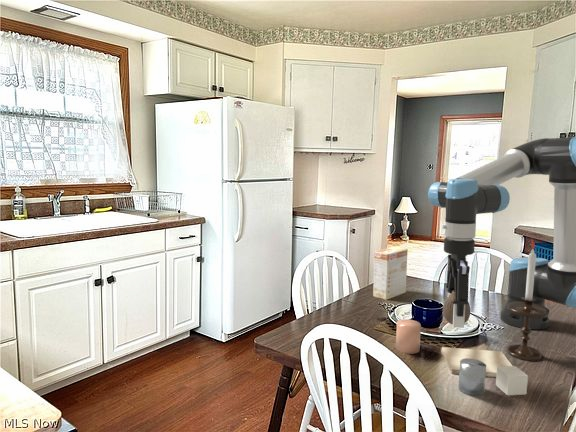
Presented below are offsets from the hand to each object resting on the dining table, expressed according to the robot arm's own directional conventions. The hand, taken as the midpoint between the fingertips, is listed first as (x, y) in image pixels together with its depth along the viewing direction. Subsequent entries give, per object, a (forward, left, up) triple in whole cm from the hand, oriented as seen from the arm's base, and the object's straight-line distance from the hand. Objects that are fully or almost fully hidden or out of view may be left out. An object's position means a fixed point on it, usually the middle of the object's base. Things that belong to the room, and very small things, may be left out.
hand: (455, 321), depth 117 cm
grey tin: (-3, +10, -14) cm, 17 cm away
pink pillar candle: (+10, -12, -14) cm, 21 cm away
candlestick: (-24, -14, -14) cm, 31 cm away
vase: (0, 0, -1) cm, 1 cm away
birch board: (-8, -5, -14) cm, 17 cm away
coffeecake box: (+12, -65, -14) cm, 68 cm away
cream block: (-13, +8, -14) cm, 20 cm away
